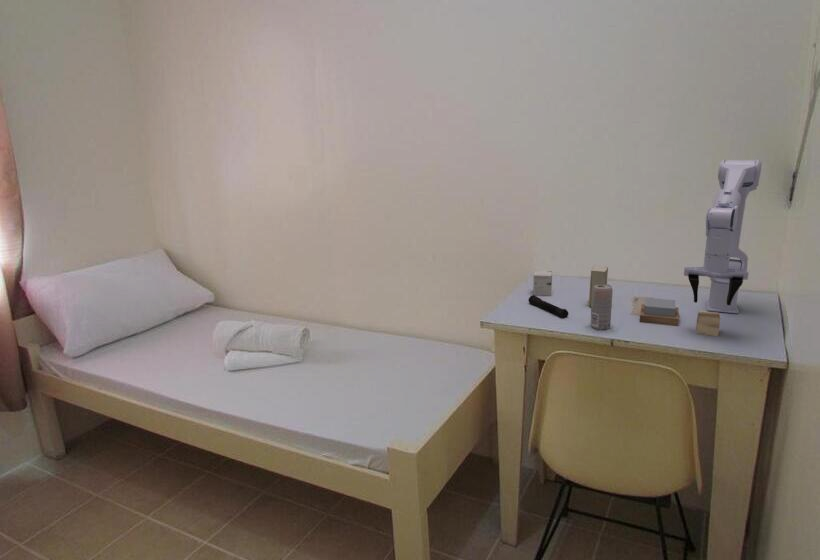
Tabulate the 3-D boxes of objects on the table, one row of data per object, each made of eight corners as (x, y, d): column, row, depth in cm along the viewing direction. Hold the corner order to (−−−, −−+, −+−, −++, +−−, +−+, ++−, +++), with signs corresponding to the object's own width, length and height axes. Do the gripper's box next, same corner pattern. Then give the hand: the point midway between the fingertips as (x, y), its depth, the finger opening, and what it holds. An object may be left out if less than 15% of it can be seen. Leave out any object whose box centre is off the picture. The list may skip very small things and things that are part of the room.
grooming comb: (630, 297, 173) (630, 294, 173) (663, 301, 168) (664, 298, 168) (620, 315, 158) (620, 312, 158) (656, 320, 153) (657, 317, 153)
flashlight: (535, 303, 172) (536, 294, 171) (568, 318, 158) (569, 308, 157) (528, 304, 171) (528, 295, 170) (560, 319, 157) (561, 310, 156)
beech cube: (696, 327, 145) (698, 310, 144) (716, 329, 143) (718, 312, 142) (696, 333, 141) (698, 316, 139) (718, 336, 139) (720, 318, 137)
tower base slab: (641, 312, 160) (641, 304, 159) (677, 315, 155) (678, 307, 155) (639, 323, 151) (640, 315, 150) (678, 327, 147) (678, 318, 146)
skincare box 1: (532, 295, 179) (533, 274, 177) (534, 290, 185) (534, 270, 183) (551, 296, 177) (551, 275, 175) (551, 290, 183) (552, 270, 181)
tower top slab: (644, 305, 158) (645, 297, 157) (674, 308, 154) (675, 300, 154) (644, 314, 151) (644, 306, 150) (674, 317, 147) (675, 308, 147)
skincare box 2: (592, 300, 170) (593, 265, 167) (606, 302, 168) (608, 266, 165) (588, 306, 165) (590, 270, 162) (603, 308, 163) (605, 271, 160)
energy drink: (605, 322, 152) (608, 283, 148) (613, 329, 147) (616, 288, 143) (587, 323, 152) (589, 284, 148) (594, 330, 147) (596, 289, 143)
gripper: (686, 255, 135) (681, 304, 139) (752, 258, 129) (745, 310, 133) (685, 249, 141) (681, 296, 145) (748, 252, 135) (742, 301, 139)
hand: (711, 302), depth 139 cm, fingers open, 7 cm apart
